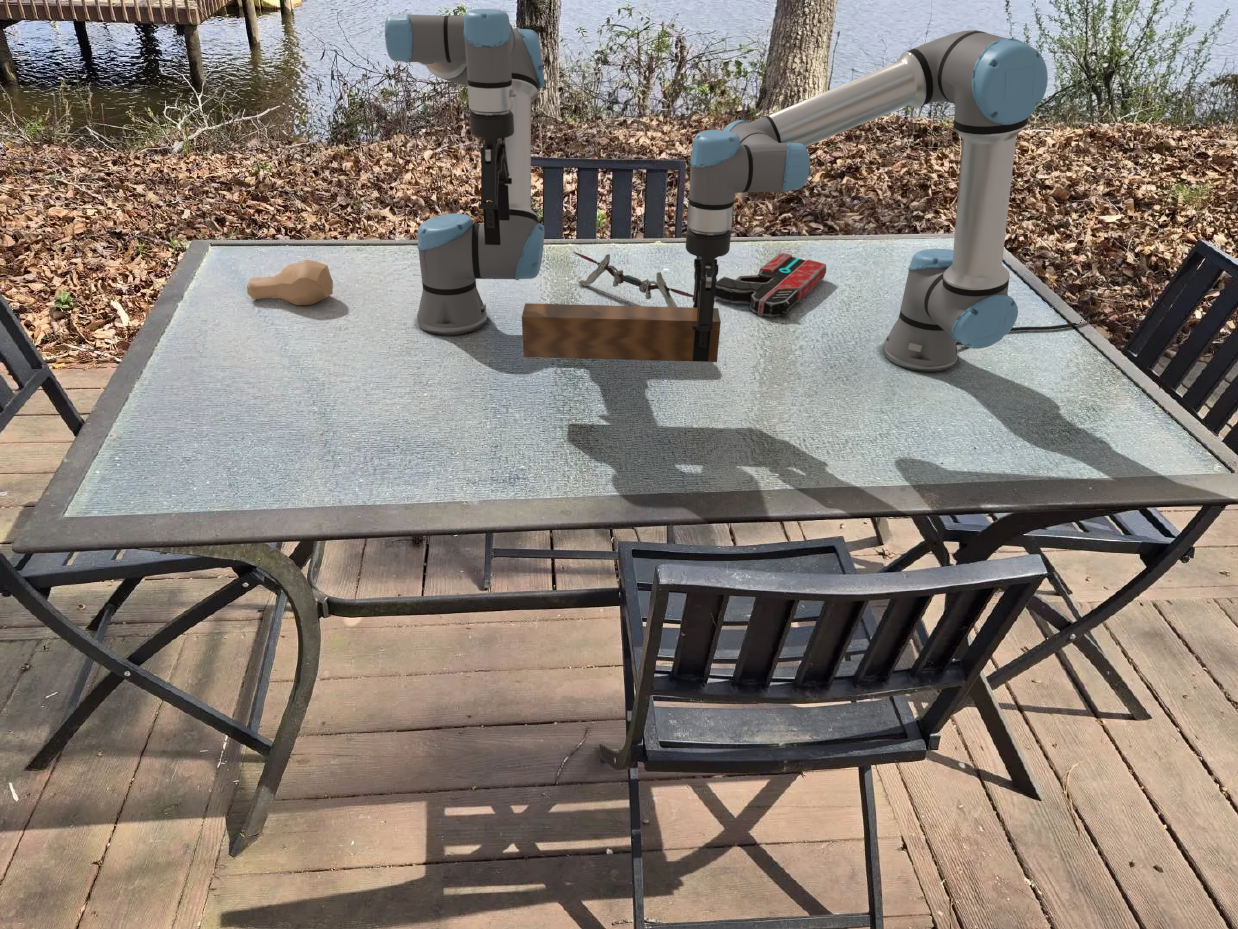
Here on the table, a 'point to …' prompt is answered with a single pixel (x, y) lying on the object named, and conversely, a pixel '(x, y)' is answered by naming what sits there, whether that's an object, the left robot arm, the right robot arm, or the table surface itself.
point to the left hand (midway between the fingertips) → (497, 231)
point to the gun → (773, 285)
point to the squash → (295, 284)
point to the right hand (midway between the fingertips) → (699, 352)
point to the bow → (631, 281)
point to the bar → (613, 332)
